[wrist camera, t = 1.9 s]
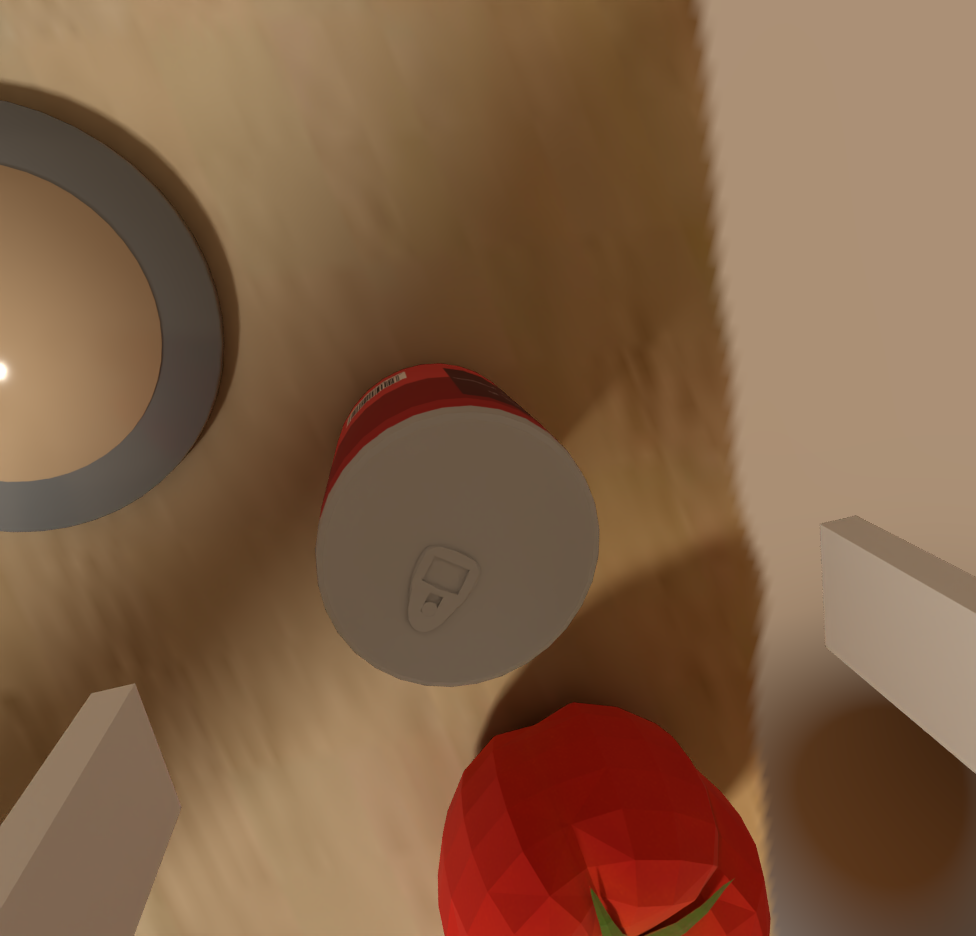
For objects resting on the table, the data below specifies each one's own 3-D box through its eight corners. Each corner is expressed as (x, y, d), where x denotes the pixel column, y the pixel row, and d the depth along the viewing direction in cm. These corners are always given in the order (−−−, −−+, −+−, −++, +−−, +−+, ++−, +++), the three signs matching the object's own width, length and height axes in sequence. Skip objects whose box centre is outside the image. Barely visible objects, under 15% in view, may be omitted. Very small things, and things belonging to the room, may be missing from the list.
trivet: (-125, 563, 27) (-142, 572, 26) (-323, 140, 23) (-350, 134, 22) (270, 479, 28) (266, 485, 28) (153, 67, 24) (145, 59, 23)
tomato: (385, 735, 32) (389, 942, 22) (650, 625, 33) (771, 778, 23) (486, 943, 36) (528, 1197, 26) (721, 841, 37) (850, 1051, 27)
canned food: (323, 534, 29) (294, 678, 19) (351, 343, 28) (337, 385, 17) (501, 557, 31) (566, 702, 20) (539, 377, 29) (632, 434, 19)
